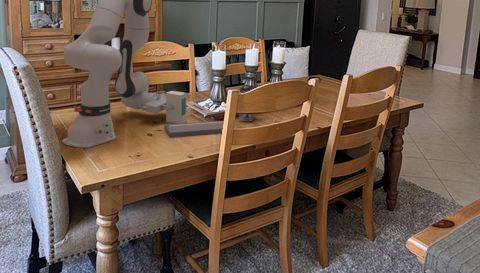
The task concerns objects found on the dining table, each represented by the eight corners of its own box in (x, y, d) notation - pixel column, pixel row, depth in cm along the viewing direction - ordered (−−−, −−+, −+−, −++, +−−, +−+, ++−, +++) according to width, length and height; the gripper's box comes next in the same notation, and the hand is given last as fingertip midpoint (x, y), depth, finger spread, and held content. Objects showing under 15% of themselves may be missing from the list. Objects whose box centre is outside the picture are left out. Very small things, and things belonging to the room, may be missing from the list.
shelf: (170, 137, 213) (169, 126, 211) (164, 128, 224) (164, 118, 222) (225, 132, 221) (225, 121, 220) (217, 124, 232) (217, 114, 230)
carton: (180, 124, 230) (180, 95, 226) (166, 121, 233) (165, 92, 229) (186, 121, 235) (186, 92, 230) (172, 119, 238) (171, 90, 233)
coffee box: (242, 116, 246) (243, 84, 241) (255, 117, 245) (256, 85, 240) (238, 121, 238) (239, 88, 233) (251, 122, 237) (253, 89, 231)
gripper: (138, 100, 227) (164, 105, 221) (163, 91, 244) (188, 95, 239) (139, 114, 229) (164, 118, 223) (163, 104, 246) (188, 108, 241)
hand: (176, 106), depth 231 cm, fingers closed on carton, 5 cm apart
